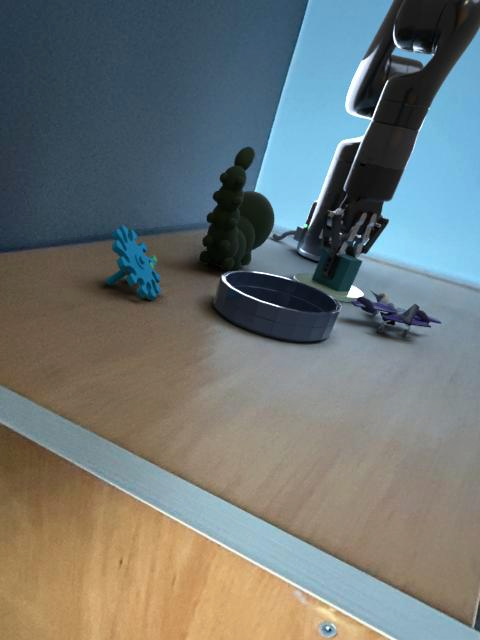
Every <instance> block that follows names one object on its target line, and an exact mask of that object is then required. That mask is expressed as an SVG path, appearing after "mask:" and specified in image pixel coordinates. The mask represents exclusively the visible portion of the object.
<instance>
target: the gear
mask: <svg viewBox="0 0 480 640" xmlns="http://www.w3.org/2000/svg"><path fill="white" fill-rule="evenodd" d="M111 237H112V239H113V240H114V241H113V242H112V243H111V249H112V251H113V252H114V253H115V254H117V255H118V256H119V257H118V258H117V259H116V265H117V267H118V269H119V270H117V271H116V272H115V273H113V274H112V275H110V276H109V277H107V278H106V279H105V282H106V284H107V285H108V286H109V287H111V286H113V285H114V284H116V283H118V282H119V281H120V280H122V279H123V278H125V281H126V282H127V284H128V285H129V287H132V286H134V285H135V284H138V287H137V288H136V293H137V294H138V295H139V297H141V298H142V299H143V298H144V297H146V299H148V300H149V301H152V300H155V299H156V298H157V295H158V294H159V293H161V292H162V288H161V287H160V285H159V283H160V282H161V275H160V274H159V273H158V272H156V271H155V270H154V269H155V268H156V267H157V264H156V263H158V258H157V256H156V255H155V254H153V255H151V256H149V257H148V255H146V254H145V253H146V252H148V251H149V249H148V246H147V245H146V243H145V241H141V242H140V243H138V244H137V241H136V240H138V235H137V233H136V232H135V230H134V229H131V230H129V229H128V228H127V227H126V226H125V225H124V224H121V225H120V226H119V227H117V229H115V230H114V232H111Z"/></svg>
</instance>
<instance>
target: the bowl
mask: <svg viewBox="0 0 480 640" xmlns="http://www.w3.org/2000/svg"><path fill="white" fill-rule="evenodd" d="M216 288H217V289H216V291H215V295H214V298H213V305H214V308H215V309H216V310H217V311H218V312H219V313H220V315H221V316H223V317H224V318H225V319H226V320H228V321H229V322H231V323H233V324H234V325H236V326H238V327H241V328H243V329H245V330H247V331H249V332H253V333H255V334H257V335H258V334H259V335H261V336H265V337H269V338H272V339H277V340H281V341H286V342H287V341H288V342H294V343H295V342H297V343H311V342H312V343H313V342H317V341H322V340H325V339H327V338H329V337H330V335H331V334H332V331H333V328H334V326H335V324H336V322H337V319H338V317H339V315H340V312H341V310H342V308H343V306H342V304H341V303H340V301H337V300H336V299H334V298H333V297H332V296H330V295H329V294H327V293H325V292H323V291H321V290H319V289H316V288H314V287H312V286H309V285H306V284H304V283H301V282H298V281H295V280H293V278H292V279H291V278H289V277H284V276H280V275H276V274H271V273H267V272H261V271H253V270H240V271H230V270H229V271H225V272H224V273H223V274H222V275H220V278H219V281H218V285H217V287H216Z"/></svg>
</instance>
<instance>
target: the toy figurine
mask: <svg viewBox="0 0 480 640" xmlns="http://www.w3.org/2000/svg"><path fill="white" fill-rule="evenodd" d="M255 159H256V150H255V149H254V148H253V147H251V146H246V147H242V148H241V149H240V150H239V151H238V153H236V155H235V158H234V161H233V165H232V166H230V167H228V168H227V169H226V170H225V171H224V172H222V173H221V174H220V175H219V182H220V183H221V186H220V188H219V189H218V190H217V191H214V192H213V194H212V200H213V201H214V202H215V203H216V206H214V209H213V210H212V211H209V212H208V213H207V215H206V222H207V223H208V224H210V225H209V226H208V229H207V231H206V235H205V236H204V237H203V238H202V245H203V247H205V250H202V251H200V253H199V254H198V255H199V256H198V259H199V262H201V263H202V264H204V265H212V264H214V265H216V266H218V267H219V268H221V269H222V270H223V271H229V272H230V271H241V270H242V267H245V266H248V265H249V264H250V263H251V261H252V252H253V250H254V251H255V250H256V249H257V248H260V247H261V246H262V245H263V244H264V243H265V242H266V241H267V240H268V238H269V237H270V235H271V233H272V231H273V229H274V226H275V211H274V208H273V205H272V203H271V202H270V199H268V198H267V197H266V196H265V195H264V194H262V193H261V192H258V191H253V190H245V191H244V190H243V189H244V187H245V186H246V184H247V178H248V177H247V172H246V171H247V170H248V169H249V168H250V167H251V166H252V165H253V162H254V160H255Z"/></svg>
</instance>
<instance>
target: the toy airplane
mask: <svg viewBox="0 0 480 640" xmlns="http://www.w3.org/2000/svg"><path fill="white" fill-rule="evenodd" d="M369 291H370V292H371V293H372V294H373V295H374V297H375V300H376V301H377V302H375V301H372V300H370V299H369V298H366V297H364V296H363V297H362V296H360V297H358V298H357V301H352V302H350V304H351V305H353V306H354V307H357V308H359V309H361V310H362V311H363V312H365V313H368V314H371V317H372V318H374V317H376V316H377V315H379V314H380V317H381V320H382V322H381V324H380V325H379V326H378V329H377V330H378V332H379V333H382V332H383V331H385V325H384V324H386V325H388V326H389V325H390V326H395V325H396V323H399V324H403V325H405V326H406V327H408V328H405V329H404V330H403V331H402V336H403V338H404V337H408V335H409V333H410V329H411V326H413V327H414V326H415V327H423V328H429V329H431V328H432V325H430V323H432V324H433V323H434V324H438V325H441V324H442V321H441V320H440V319H438V318H437V317H433V316H429V315H428V314H427V313H426V312H425V311H424V310H421V309H420V306H419V305H418V304H417V303H414V304H412V305H411V306H410V307H409V308H408V309H405V308H401V307H398V306H396V305H395V304H394V303H393V301H392V300H391V298H390V297H389V295H388V294H387V293H385V292H382V293H379V294H378V293H375V292H374V291H372V290H371V289H369Z"/></svg>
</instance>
